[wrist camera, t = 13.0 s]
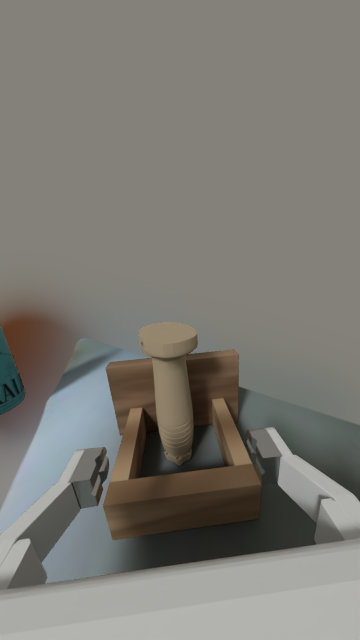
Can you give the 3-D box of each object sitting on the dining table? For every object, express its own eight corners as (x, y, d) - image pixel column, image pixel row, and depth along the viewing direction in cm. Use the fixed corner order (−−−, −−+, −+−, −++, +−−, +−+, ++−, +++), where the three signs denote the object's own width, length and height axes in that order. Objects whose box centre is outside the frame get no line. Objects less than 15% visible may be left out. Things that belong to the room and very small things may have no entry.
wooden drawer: (282, 515, 14) (293, 417, 12) (87, 543, 14) (53, 446, 11) (234, 412, 25) (234, 349, 22) (123, 425, 24) (109, 362, 22)
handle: (174, 495, 16) (155, 349, 12) (149, 442, 21) (131, 328, 18) (213, 464, 18) (208, 333, 14) (182, 423, 24) (172, 319, 20)
